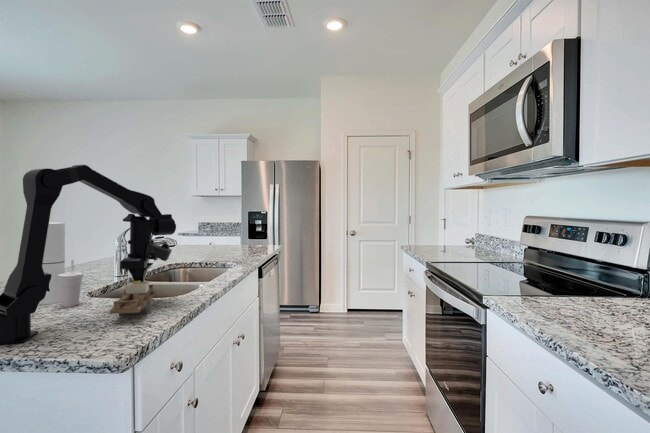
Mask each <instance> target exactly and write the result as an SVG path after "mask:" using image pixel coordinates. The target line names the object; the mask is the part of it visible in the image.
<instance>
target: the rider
mask: <svg viewBox="0 0 650 433" xmlns="http://www.w3.org/2000/svg"><path fill="white" fill-rule="evenodd" d="M149 285H150V282H149V281H144V282H141V281H140V280H138V281H133V282H129V283H127V284H126V285H125V294H133V299H135V298H136V297H137V296H138V295H139V294H140V293H146V292H147V291H148V290H149Z"/></svg>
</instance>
